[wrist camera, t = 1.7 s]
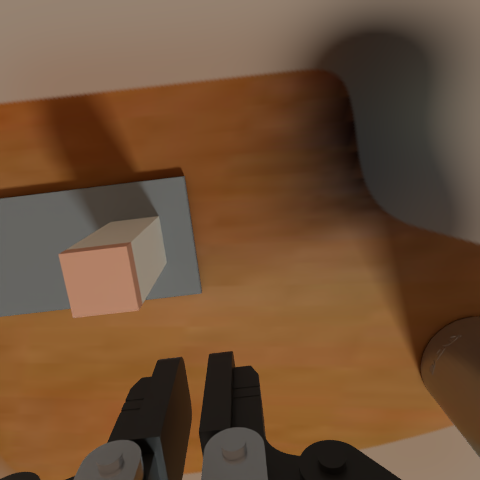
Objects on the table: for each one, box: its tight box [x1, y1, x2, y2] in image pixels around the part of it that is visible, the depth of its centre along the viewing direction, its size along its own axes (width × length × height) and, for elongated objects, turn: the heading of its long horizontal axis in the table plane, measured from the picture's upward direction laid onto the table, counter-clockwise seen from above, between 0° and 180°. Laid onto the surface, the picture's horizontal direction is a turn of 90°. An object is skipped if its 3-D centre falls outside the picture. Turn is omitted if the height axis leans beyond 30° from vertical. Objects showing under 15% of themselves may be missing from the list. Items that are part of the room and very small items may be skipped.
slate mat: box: [0, 176, 202, 317], centre depth 34 cm, size 18×10×1 cm, turn 97°
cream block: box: [58, 216, 167, 318], centre depth 29 cm, size 4×4×10 cm
